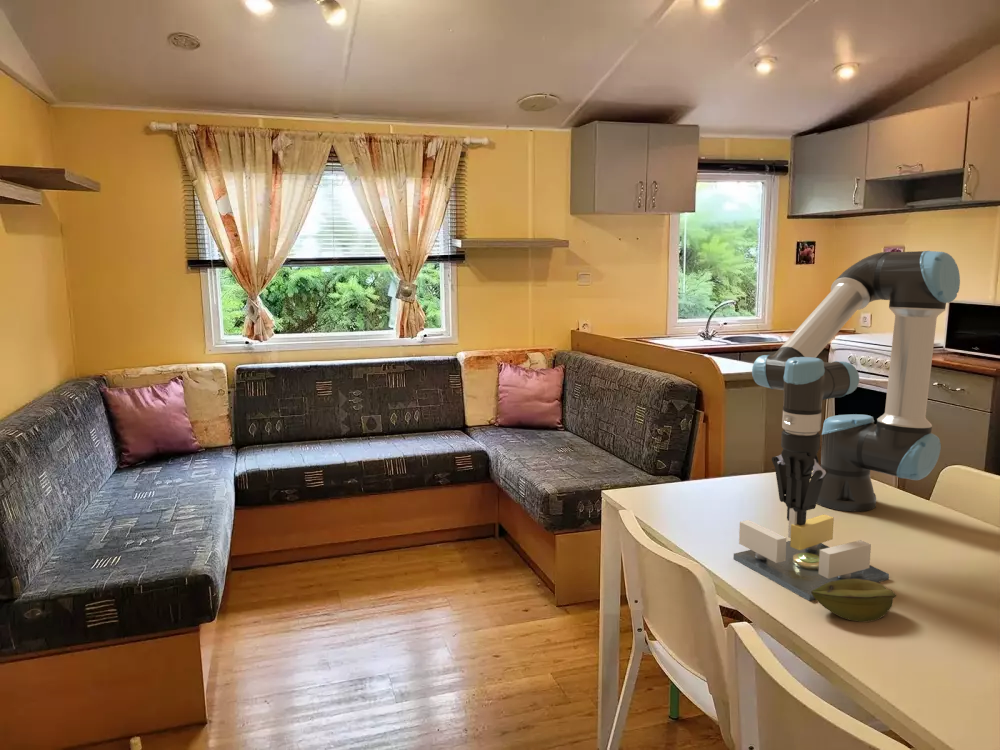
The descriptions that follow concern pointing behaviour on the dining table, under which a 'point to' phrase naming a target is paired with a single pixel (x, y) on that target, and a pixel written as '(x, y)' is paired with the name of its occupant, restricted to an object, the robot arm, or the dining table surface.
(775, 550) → the white crossbar plank
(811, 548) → the yellow lintel plank
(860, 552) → the white brick piece
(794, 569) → the base
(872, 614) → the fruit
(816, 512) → the dining table surface
